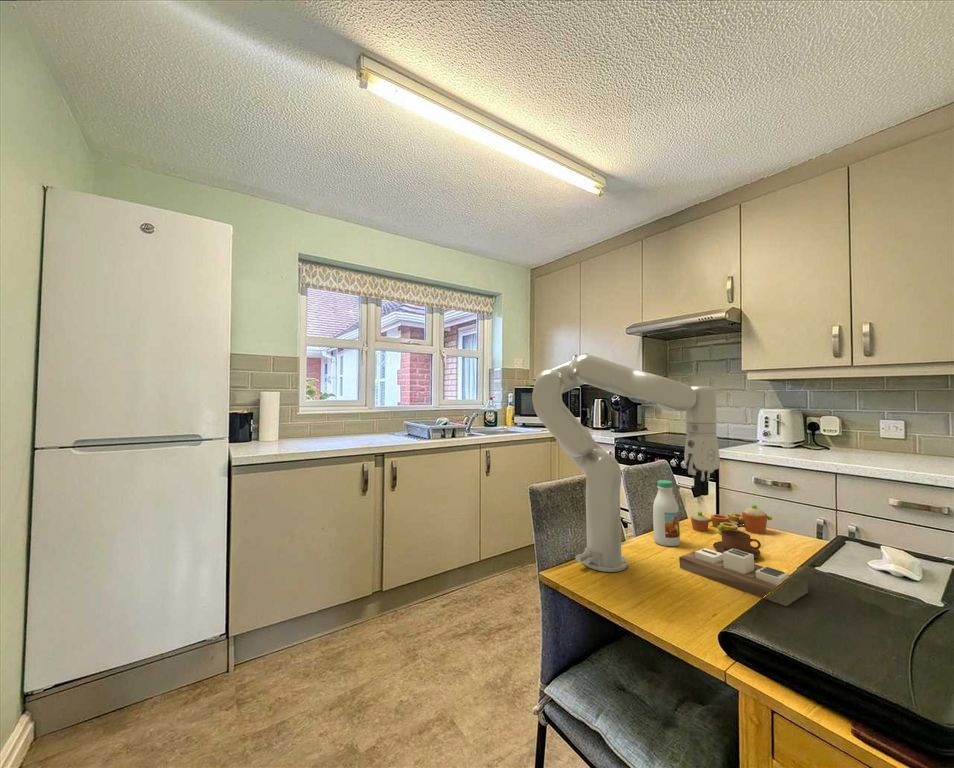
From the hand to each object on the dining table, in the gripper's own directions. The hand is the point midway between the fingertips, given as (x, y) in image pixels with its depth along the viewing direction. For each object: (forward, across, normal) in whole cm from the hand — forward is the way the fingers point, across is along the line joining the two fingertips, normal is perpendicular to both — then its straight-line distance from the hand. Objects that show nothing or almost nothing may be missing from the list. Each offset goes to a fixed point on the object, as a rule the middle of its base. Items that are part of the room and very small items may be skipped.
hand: (701, 494), depth 112 cm
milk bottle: (+20, +9, +16) cm, 28 cm away
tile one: (+20, 0, -2) cm, 20 cm away
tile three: (+19, 0, -17) cm, 26 cm away
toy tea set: (+20, +39, +12) cm, 45 cm away
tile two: (+17, 0, -10) cm, 20 cm away
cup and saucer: (+20, +18, 0) cm, 27 cm away
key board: (+20, 0, -10) cm, 22 cm away
